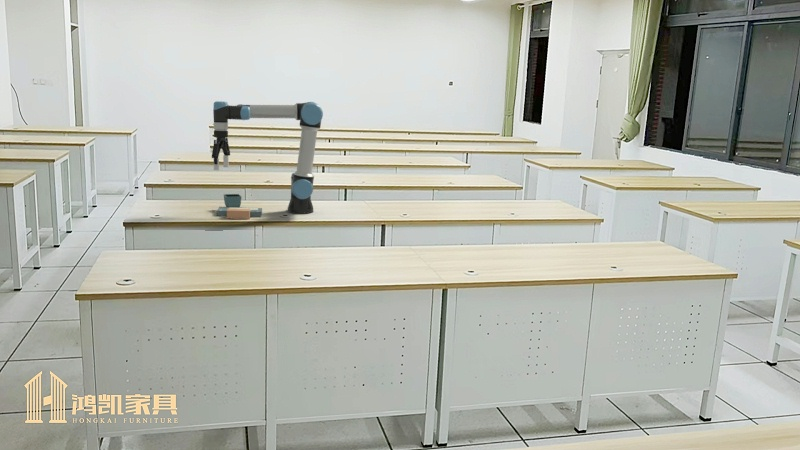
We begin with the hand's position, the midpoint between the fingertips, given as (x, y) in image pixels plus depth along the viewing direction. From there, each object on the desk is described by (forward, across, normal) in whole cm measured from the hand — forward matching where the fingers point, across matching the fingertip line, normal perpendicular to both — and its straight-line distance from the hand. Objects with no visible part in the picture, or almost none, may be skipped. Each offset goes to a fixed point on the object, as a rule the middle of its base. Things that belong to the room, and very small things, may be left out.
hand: (221, 168), depth 373 cm
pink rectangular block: (+26, +4, +11) cm, 29 cm away
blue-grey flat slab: (+26, -4, +9) cm, 28 cm away
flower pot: (+26, -14, +1) cm, 30 cm away
